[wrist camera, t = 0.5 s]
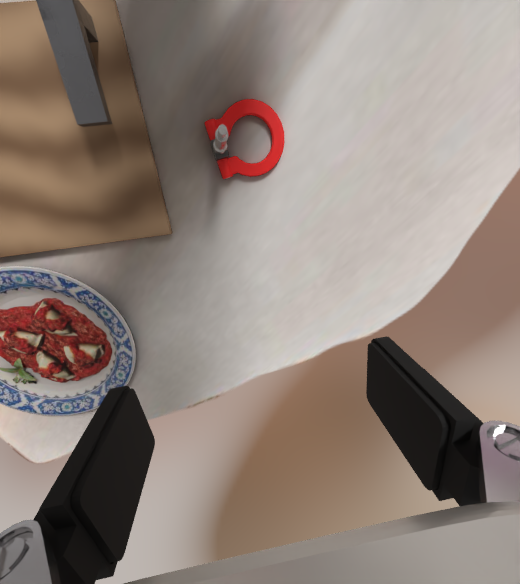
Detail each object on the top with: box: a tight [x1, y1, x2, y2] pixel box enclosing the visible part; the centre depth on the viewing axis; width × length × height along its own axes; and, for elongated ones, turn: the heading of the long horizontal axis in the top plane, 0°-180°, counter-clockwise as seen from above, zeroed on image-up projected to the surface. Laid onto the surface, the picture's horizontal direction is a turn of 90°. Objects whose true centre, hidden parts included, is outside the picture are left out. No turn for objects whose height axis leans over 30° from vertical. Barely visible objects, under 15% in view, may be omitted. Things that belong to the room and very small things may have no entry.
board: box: [0, 0, 172, 257], centre depth 30 cm, size 24×24×1 cm
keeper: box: [36, 0, 112, 127], centre depth 26 cm, size 10×3×4 cm, turn 7°
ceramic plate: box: [0, 266, 136, 416], centre depth 39 cm, size 26×26×3 cm
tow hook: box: [205, 99, 284, 179], centre depth 27 cm, size 8×13×9 cm
